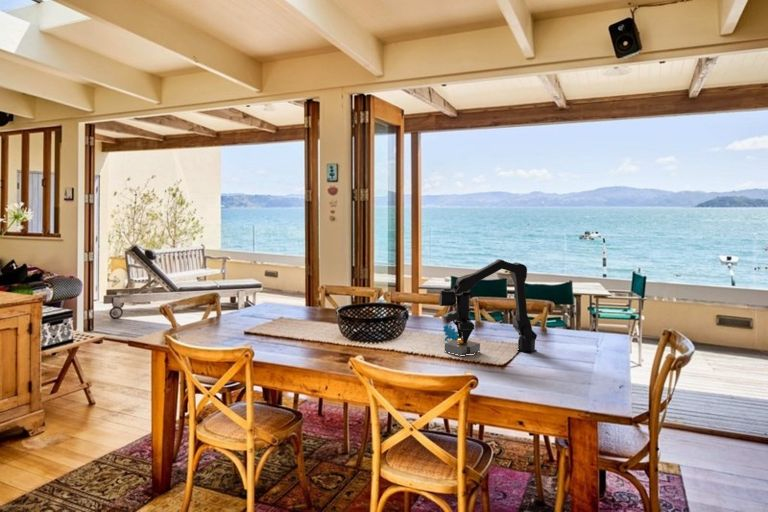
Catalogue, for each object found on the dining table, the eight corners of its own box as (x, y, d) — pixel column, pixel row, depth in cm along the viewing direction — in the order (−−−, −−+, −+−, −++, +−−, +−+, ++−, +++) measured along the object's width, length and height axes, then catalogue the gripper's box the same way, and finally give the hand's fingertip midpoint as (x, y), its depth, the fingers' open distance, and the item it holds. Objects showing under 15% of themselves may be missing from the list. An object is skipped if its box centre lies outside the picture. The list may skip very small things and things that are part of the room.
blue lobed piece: (452, 341, 229) (441, 324, 234) (444, 348, 232) (433, 331, 237) (465, 340, 237) (455, 323, 242) (457, 347, 240) (447, 330, 245)
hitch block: (481, 352, 217) (481, 343, 216) (463, 357, 209) (463, 348, 209) (460, 347, 226) (461, 338, 226) (442, 351, 218) (443, 342, 218)
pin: (469, 351, 217) (469, 339, 217) (462, 353, 214) (462, 340, 214) (461, 349, 220) (461, 337, 220) (455, 351, 218) (455, 338, 217)
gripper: (441, 302, 224) (440, 335, 226) (448, 310, 206) (448, 346, 207) (465, 301, 225) (464, 335, 226) (475, 309, 206) (474, 346, 208)
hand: (462, 340), depth 217 cm, fingers open, 9 cm apart
